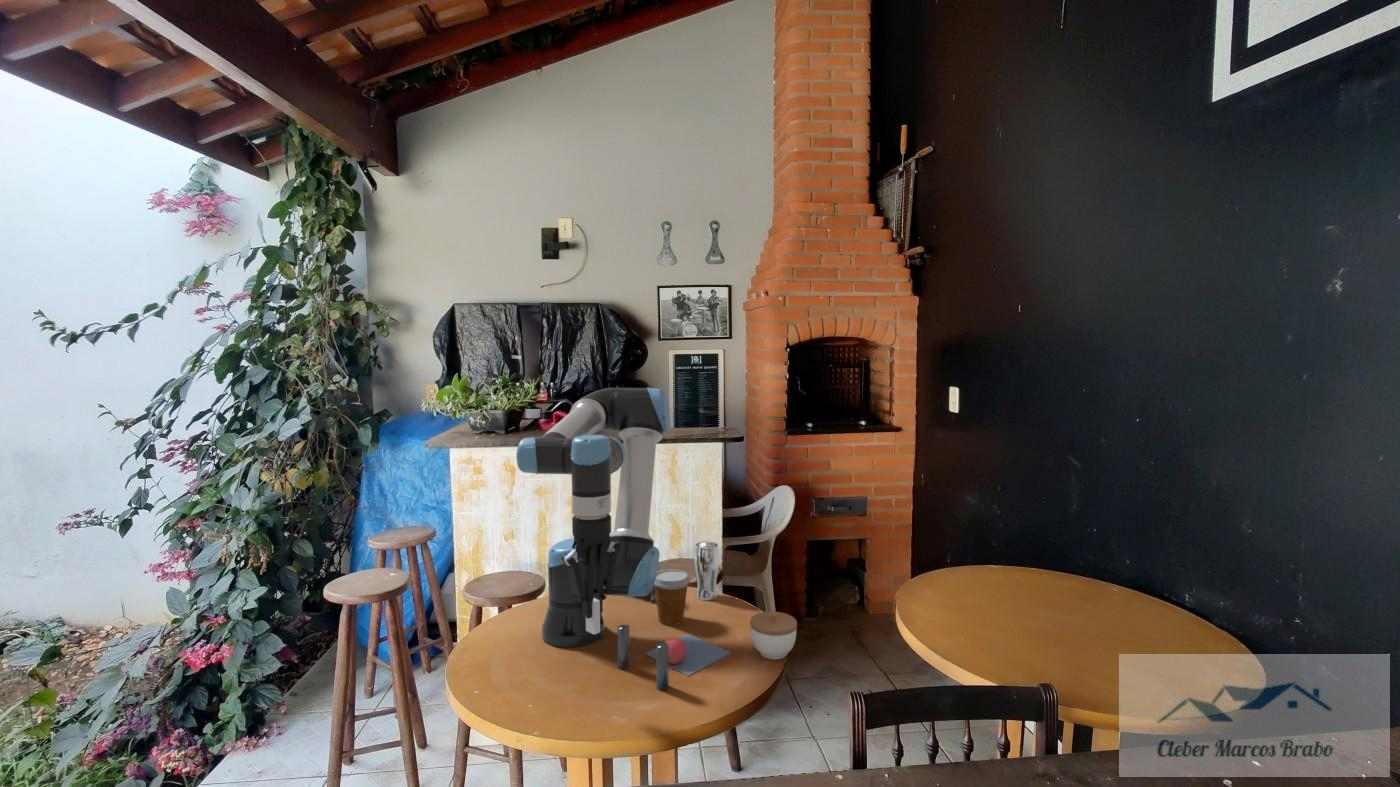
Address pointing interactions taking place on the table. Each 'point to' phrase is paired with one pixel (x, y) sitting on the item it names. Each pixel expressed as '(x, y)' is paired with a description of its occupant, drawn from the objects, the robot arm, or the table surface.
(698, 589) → the beer glass
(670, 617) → the disposable coffee cup
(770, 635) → the lidded jar
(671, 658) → the ball
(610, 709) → the table surface
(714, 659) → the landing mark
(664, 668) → the post
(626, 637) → the post
